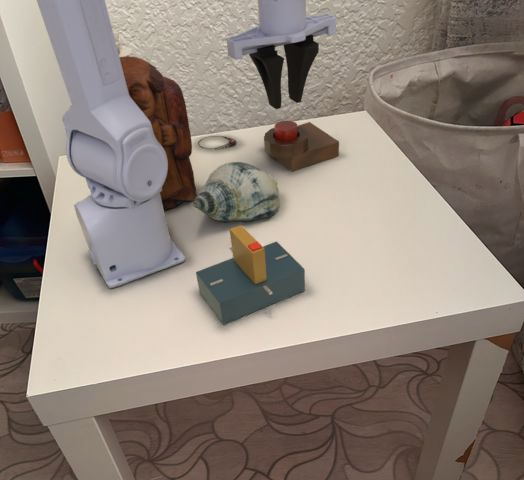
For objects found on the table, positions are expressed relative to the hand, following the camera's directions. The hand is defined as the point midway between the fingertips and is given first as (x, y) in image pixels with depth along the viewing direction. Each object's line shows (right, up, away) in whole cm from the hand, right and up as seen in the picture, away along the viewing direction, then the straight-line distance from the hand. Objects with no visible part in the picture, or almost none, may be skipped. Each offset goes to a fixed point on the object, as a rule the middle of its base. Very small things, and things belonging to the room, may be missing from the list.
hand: (285, 103), depth 74 cm
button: (0, -3, +4) cm, 5 cm away
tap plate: (-4, -27, -13) cm, 30 cm away
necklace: (-10, -1, +12) cm, 15 cm away
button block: (+2, -4, +7) cm, 9 cm away
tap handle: (-4, -25, -16) cm, 30 cm away
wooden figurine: (-17, -13, +1) cm, 22 cm away
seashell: (-6, -16, -2) cm, 17 cm away
